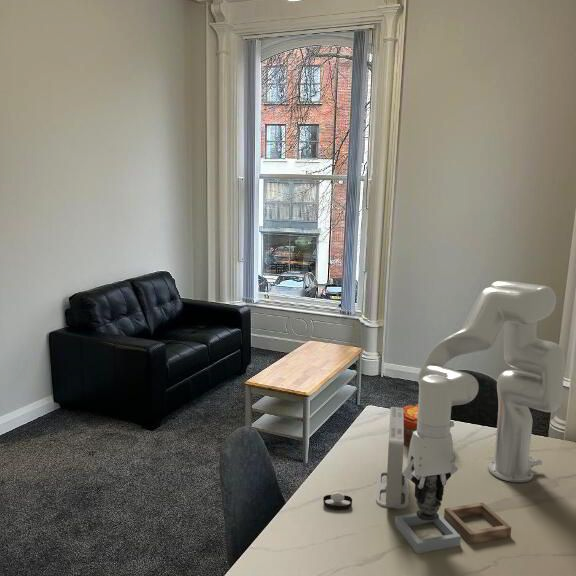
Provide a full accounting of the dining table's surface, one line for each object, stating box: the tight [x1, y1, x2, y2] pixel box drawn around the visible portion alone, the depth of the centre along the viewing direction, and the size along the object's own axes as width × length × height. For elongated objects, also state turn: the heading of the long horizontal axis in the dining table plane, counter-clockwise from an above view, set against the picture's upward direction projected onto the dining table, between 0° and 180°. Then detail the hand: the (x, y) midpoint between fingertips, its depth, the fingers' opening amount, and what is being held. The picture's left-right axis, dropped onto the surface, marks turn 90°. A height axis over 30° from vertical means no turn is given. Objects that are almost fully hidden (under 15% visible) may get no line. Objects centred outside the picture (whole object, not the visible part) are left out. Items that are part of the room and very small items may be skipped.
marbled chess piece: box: [415, 475, 442, 523], centre depth 132 cm, size 6×6×12 cm
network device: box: [375, 406, 410, 510], centre depth 153 cm, size 26×9×20 cm, turn 168°
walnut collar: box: [443, 502, 512, 545], centre depth 138 cm, size 11×11×2 cm
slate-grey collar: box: [394, 511, 462, 554], centre depth 134 cm, size 11×11×2 cm
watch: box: [322, 491, 353, 511], centre depth 146 cm, size 8×5×4 cm, turn 87°
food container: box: [402, 404, 418, 448], centre depth 184 cm, size 16×16×11 cm
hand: (428, 498), depth 133 cm, fingers closed on marbled chess piece, 4 cm apart
